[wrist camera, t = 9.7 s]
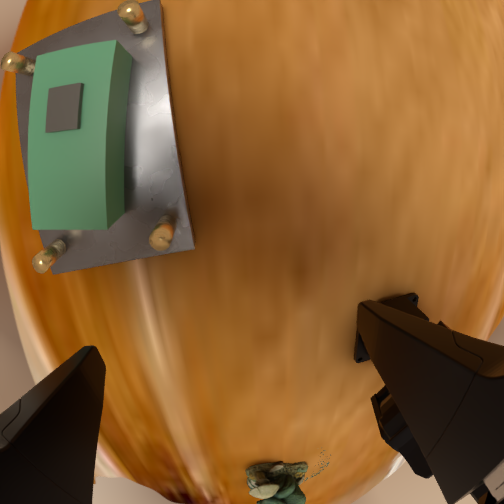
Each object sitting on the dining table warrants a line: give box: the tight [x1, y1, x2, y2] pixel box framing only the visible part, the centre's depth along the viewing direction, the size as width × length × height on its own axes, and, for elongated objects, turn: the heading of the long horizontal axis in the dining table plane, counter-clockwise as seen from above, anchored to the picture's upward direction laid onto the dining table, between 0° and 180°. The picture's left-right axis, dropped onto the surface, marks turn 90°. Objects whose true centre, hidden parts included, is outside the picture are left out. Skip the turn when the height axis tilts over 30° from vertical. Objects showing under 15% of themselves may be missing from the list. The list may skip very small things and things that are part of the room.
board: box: [28, 40, 132, 230], centre depth 13 cm, size 10×5×4 cm, turn 175°
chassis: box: [1, 0, 196, 275], centre depth 14 cm, size 17×11×4 cm, turn 7°
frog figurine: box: [246, 447, 331, 504], centre depth 29 cm, size 18×18×12 cm
